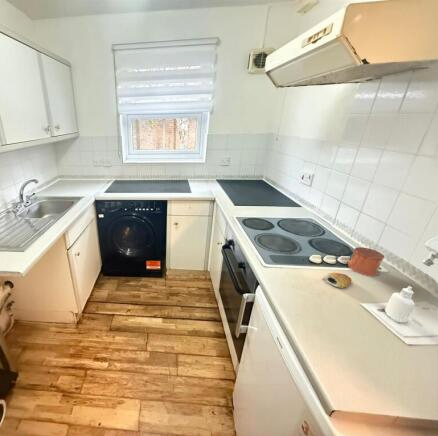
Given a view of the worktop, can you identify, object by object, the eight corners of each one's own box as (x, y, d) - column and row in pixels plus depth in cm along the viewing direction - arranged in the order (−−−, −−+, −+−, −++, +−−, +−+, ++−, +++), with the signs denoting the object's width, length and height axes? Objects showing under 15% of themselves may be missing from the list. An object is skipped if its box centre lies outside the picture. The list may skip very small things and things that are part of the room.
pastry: (338, 275, 98) (341, 267, 96) (355, 285, 92) (359, 277, 90) (321, 279, 95) (324, 272, 93) (339, 290, 89) (342, 282, 88)
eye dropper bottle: (400, 313, 78) (417, 284, 74) (406, 325, 74) (423, 294, 69) (383, 308, 81) (397, 279, 76) (387, 319, 76) (403, 289, 72)
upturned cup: (372, 265, 104) (379, 250, 101) (381, 278, 96) (389, 261, 93) (345, 260, 108) (351, 245, 105) (351, 272, 100) (357, 255, 97)
